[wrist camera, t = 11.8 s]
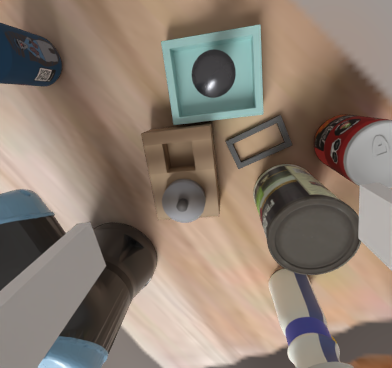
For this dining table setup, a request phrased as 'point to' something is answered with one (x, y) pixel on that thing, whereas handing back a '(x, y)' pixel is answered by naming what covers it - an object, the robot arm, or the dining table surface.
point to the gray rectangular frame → (252, 131)
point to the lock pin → (213, 73)
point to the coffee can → (305, 221)
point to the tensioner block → (183, 171)
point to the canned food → (357, 148)
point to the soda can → (27, 58)
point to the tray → (240, 91)
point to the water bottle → (303, 322)
